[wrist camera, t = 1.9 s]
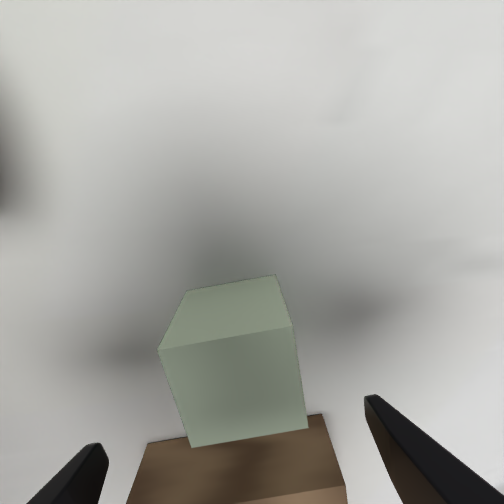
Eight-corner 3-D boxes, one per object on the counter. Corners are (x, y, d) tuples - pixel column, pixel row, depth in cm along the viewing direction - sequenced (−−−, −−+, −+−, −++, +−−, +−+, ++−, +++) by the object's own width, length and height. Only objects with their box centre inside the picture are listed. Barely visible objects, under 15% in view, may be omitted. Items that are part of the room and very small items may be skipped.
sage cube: (207, 362, 15) (191, 448, 10) (186, 290, 14) (157, 350, 9) (287, 348, 15) (308, 427, 10) (275, 274, 14) (292, 325, 9)
